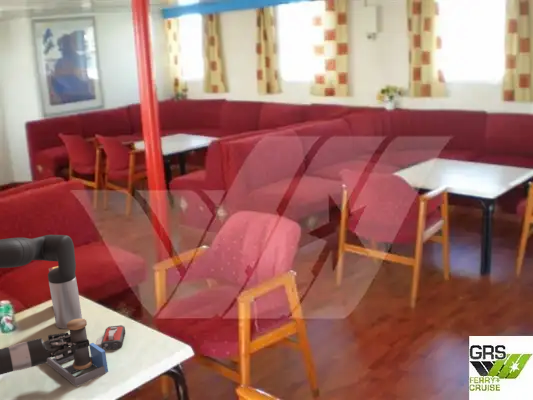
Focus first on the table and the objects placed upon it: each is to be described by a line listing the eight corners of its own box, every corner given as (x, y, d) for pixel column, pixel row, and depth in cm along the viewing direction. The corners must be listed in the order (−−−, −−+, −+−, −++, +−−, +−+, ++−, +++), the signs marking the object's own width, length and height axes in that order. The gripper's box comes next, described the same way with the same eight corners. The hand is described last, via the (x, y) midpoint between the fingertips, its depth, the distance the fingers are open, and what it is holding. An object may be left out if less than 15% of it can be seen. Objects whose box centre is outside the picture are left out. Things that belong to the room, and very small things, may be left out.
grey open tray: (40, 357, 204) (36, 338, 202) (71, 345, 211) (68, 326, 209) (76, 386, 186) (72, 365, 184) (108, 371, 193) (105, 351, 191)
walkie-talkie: (101, 334, 218) (91, 363, 199) (99, 322, 217) (89, 351, 198) (126, 331, 219) (119, 360, 200) (125, 319, 218) (117, 348, 198)
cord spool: (70, 365, 191) (63, 323, 187) (86, 358, 195) (80, 316, 191) (78, 371, 187) (72, 328, 183) (95, 364, 191) (89, 322, 187)
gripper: (29, 353, 175) (90, 336, 183) (22, 333, 188) (80, 318, 195) (33, 377, 177) (94, 360, 185) (26, 355, 190) (83, 340, 197)
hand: (86, 338), depth 190 cm, fingers closed on cord spool, 4 cm apart
